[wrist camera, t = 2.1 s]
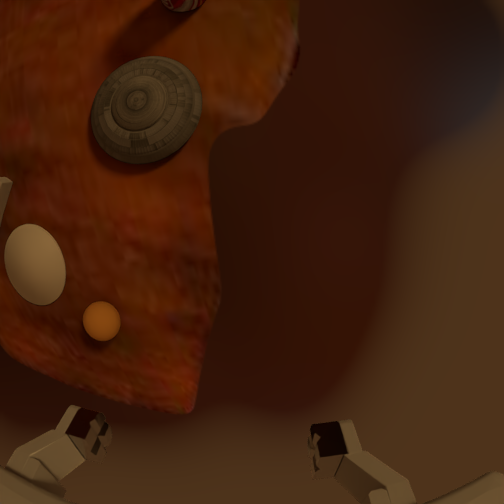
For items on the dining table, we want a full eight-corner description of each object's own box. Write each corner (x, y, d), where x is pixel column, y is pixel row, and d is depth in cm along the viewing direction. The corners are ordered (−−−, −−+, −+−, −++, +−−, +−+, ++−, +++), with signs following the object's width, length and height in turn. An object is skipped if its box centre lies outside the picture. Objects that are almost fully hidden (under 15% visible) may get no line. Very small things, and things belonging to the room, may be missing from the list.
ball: (86, 317, 39) (73, 335, 33) (97, 288, 38) (83, 304, 32) (117, 335, 40) (107, 355, 35) (130, 307, 39) (119, 325, 34)
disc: (-1, 279, 35) (-1, 279, 35) (15, 209, 33) (15, 209, 33) (55, 318, 38) (54, 319, 38) (76, 249, 36) (75, 250, 36)
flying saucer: (176, 179, 36) (170, 179, 31) (79, 147, 33) (62, 144, 28) (220, 77, 33) (221, 62, 28) (122, 51, 30) (111, 35, 25)
